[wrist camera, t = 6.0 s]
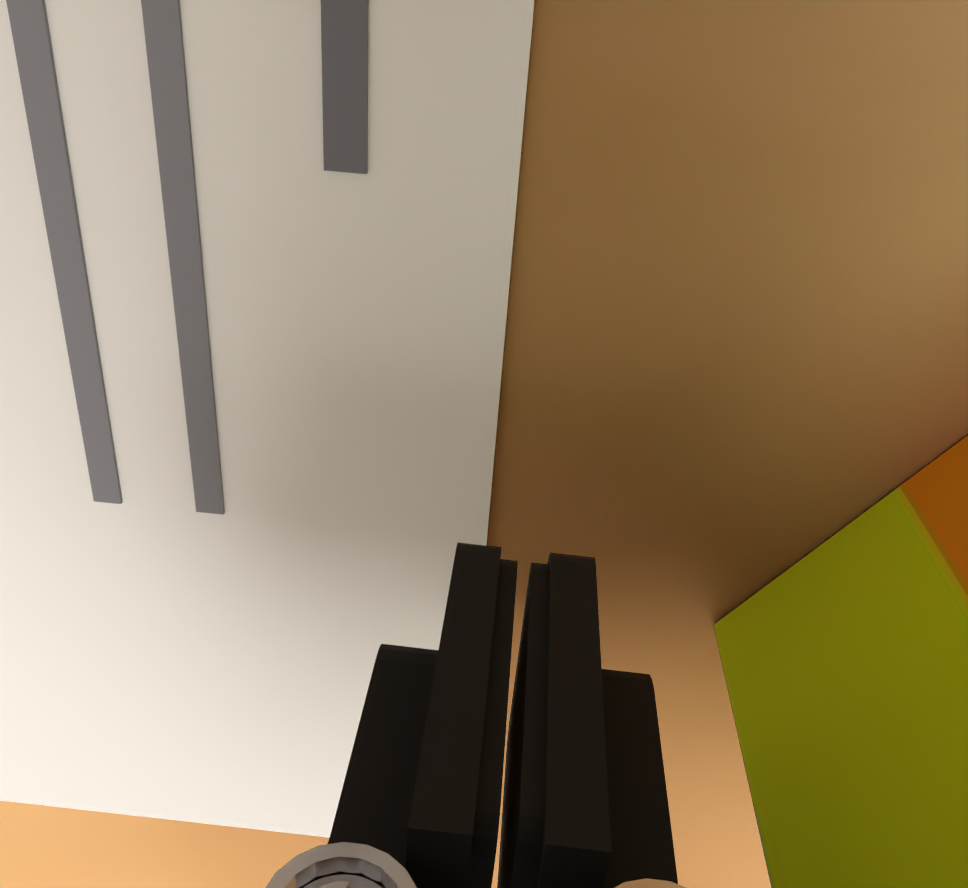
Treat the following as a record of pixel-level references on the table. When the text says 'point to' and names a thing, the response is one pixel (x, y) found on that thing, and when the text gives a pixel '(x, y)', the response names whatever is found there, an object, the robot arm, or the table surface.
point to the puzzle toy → (862, 696)
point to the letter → (240, 380)
